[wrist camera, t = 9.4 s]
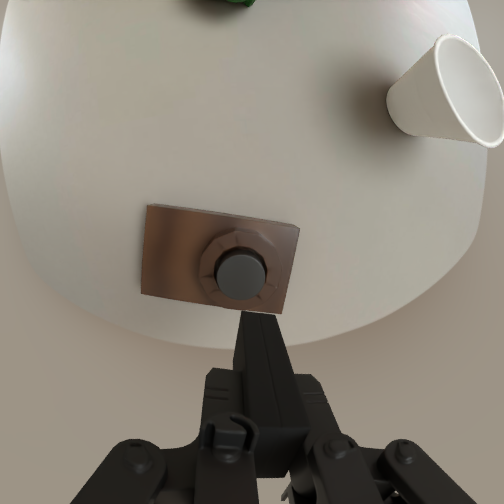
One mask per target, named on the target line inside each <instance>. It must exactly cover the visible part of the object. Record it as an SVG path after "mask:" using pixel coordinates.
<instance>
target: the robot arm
mask: <svg viewBox="0 0 504 504" xmlns="http://www.w3.org/2000/svg"><path fill="white" fill-rule="evenodd" d="M288 470H289V472H290V477H291V482H290V484H289V485H288V487H287V488H286V490H285V491H284V493H283V494H282V496H281V501H285V499H286V498H287V497H288V498H289V504H477V503H476V502H475V501H474V500H473V499H472V498H470V496H468V494H467V493H465V492H464V491H463V490H462V489H461V488H460V487H459V486H458V485H457V484H456V483H455V482H454V481H453V480H452V479H451V478H450V477H449V476H448V475H447V474H446V473H445V472H444V471H443V470H442V469H441V468H440V467H439V466H438V465H437V464H436V463H435V462H434V461H433V460H432V459H431V458H430V457H429V456H428V455H427V454H426V453H425V452H424V451H423V450H422V449H421V448H420V447H419V446H418V445H417V444H415V443H414V442H412V441H409V440H406V439H398V440H394V441H392V442H391V443H389V444H388V445H387V446H386V448H385V449H373V448H364V447H360V446H358V445H357V443H356V442H355V440H354V439H352V438H351V437H349V436H348V435H345V434H342V433H341V431H340V429H339V427H338V424H337V422H336V419H335V417H334V415H333V412H332V410H331V408H330V405H329V403H327V398H326V396H325V395H324V391H323V389H322V386H321V384H320V382H318V381H317V380H316V379H315V378H314V377H313V376H312V375H311V374H294V372H293V369H292V366H291V363H290V359H289V356H288V353H287V350H286V347H285V344H284V341H283V338H282V335H281V331H280V328H279V325H278V322H277V319H276V316H275V315H272V314H263V313H255V312H247V311H241V317H240V323H239V329H238V334H237V340H236V346H235V351H234V357H233V370H228V369H220V368H212V369H211V371H210V372H209V373H208V374H207V375H206V381H205V389H204V398H203V407H202V417H201V425H200V432H199V435H198V437H197V438H196V439H195V440H194V441H193V442H192V443H191V444H189V445H186V446H184V447H180V448H173V449H160V448H159V447H157V446H156V445H154V444H153V443H151V442H149V441H145V440H141V439H128V440H125V441H122V442H120V443H118V444H117V445H116V446H115V447H113V449H112V450H111V451H110V453H109V454H108V455H107V457H106V458H105V459H104V461H103V462H102V463H101V464H100V466H99V467H98V468H97V470H96V471H95V472H94V474H93V475H92V476H91V477H90V479H89V480H88V481H87V482H86V484H85V485H84V486H83V488H82V489H81V490H80V491H79V493H78V494H77V495H76V497H75V498H74V499H73V500H72V502H71V503H70V504H259V499H258V490H257V481H256V478H284V477H285V475H286V474H287V472H288ZM395 491H397V492H398V493H399V494H397V493H395Z"/></svg>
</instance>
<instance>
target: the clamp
mask: <svg viewBox="0 0 504 504" xmlns="http://www.w3.org/2000/svg"><path fill="white" fill-rule="evenodd" d="M227 1H230V2H243V3H244V4H245V5H246V6H248V7H249V6H251V5H253V3H254V1H255V0H227Z"/></svg>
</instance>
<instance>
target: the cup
mask: <svg viewBox="0 0 504 504" xmlns="http://www.w3.org/2000/svg"><path fill="white" fill-rule="evenodd" d="M386 102H387V108H388V112H389V114H390V116H391V118H392V120H393V122H394V123H395V124H396V126H397V127H398V128H399V129H400V130H402V131H403V132H405V133H406V134H409V135H412V136H422V137H433V138H443V139H452V140H459V141H466V142H472V143H478V144H479V145H482V146H484V147H487V148H493V147H496V146H498V145H499V144H500V143H501V142H502V140H503V138H504V95H503V92H502V89H501V87H500V84H499V82H498V80H497V78H496V75H495V73H494V72H493V70H492V68H491V67H490V65H489V64H488V62H487V61H486V60H485V58H484V57H483V56H482V55H481V53H480V52H479V51H478V50H477V49H476V48H475V47H474V46H472V45H471V44H470V43H469V42H467V41H466V40H464V39H463V38H461V37H458V36H456V35H452V34H445V35H441V36H440V37H439V38H438V39H437V40H436V42H435V44H434V46H433V47H432V48H431V49H430V50H429V51H428V52H427V53H426V54H425V55H424V56H423V57H422V58H420V59H419V61H417V63H415V64H414V65H413V66H412V67H411V68H410V69H409V70H408V71H407V72H406V73H405V74H404V75H403V76H402V77H401V78H400V79H399V80H398V81H397V82H396V83H395V84H394V85H392V86H391V87H390V89H389V91H388V93H387V99H386Z"/></svg>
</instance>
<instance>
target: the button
mask: <svg viewBox="0 0 504 504" xmlns="http://www.w3.org/2000/svg"><path fill="white" fill-rule="evenodd" d="M217 283H218V286H219V288H220V290H221V291H222V292H223V293H224V294H225V295H226V296H227V297H229V298H231V299H234V300H247V299H250V298H252V297H254V296H256V295H257V294H258V293H259V292H260V291H261V289H262V288H263V286H264V283H265V271H264V268H263V266H262V263H261V261H260V260H259V258H258V257H257V256H256V255H255V254H254V253H252V252H250V251H248V250H242V249H238V250H233V251H231V252H229V253H227V254H226V255H225V256H224V257H223V258H222V259H221V261H220V263H219V265H218V271H217Z"/></svg>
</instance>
